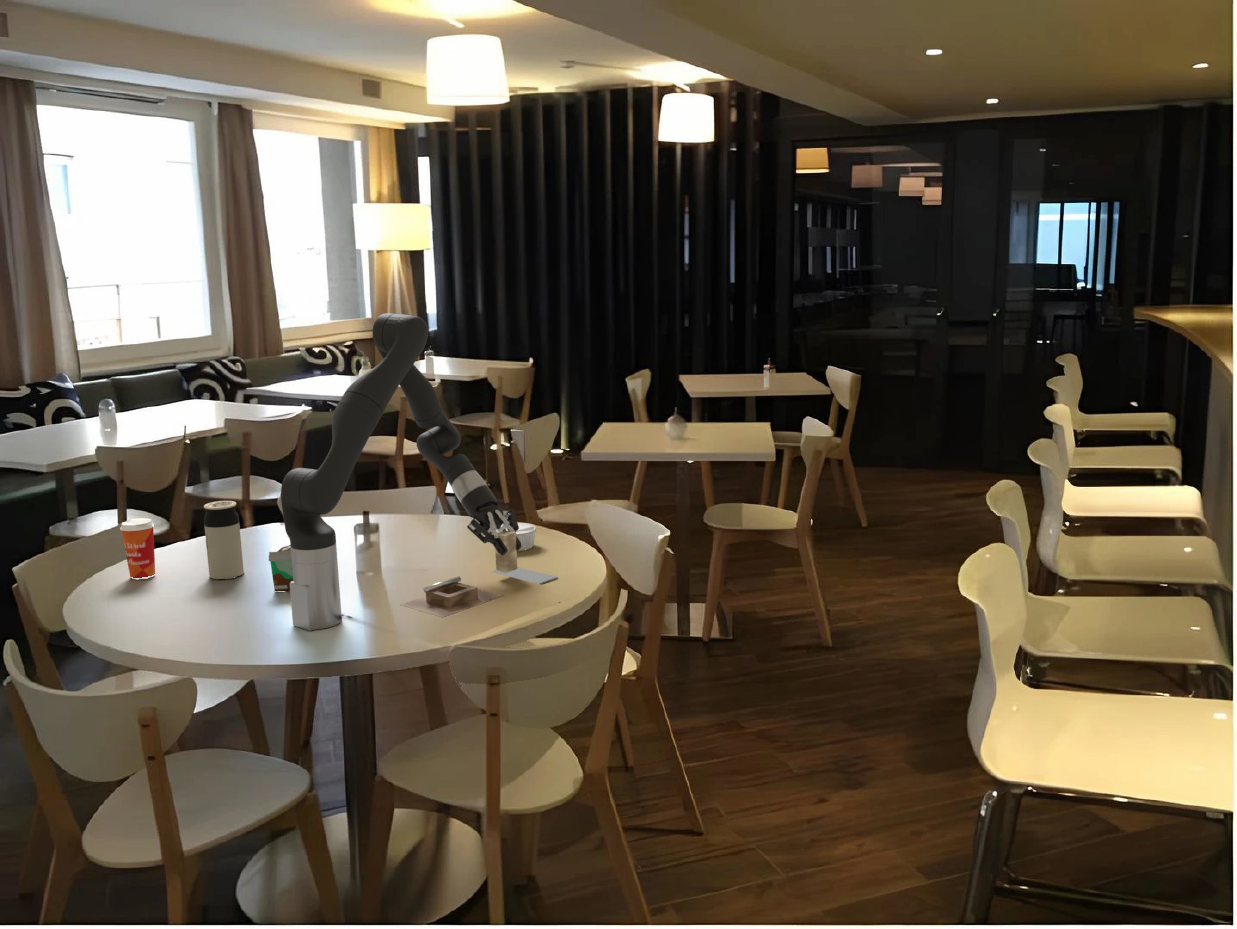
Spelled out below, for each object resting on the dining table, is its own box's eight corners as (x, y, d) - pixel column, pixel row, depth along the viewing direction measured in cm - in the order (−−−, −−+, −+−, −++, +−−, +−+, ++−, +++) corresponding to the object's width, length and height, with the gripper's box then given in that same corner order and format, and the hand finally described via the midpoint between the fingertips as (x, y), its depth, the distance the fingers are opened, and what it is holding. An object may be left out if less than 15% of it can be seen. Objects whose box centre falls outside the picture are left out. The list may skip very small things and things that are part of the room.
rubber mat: (503, 597, 242) (503, 596, 242) (455, 585, 253) (455, 583, 252) (557, 578, 256) (557, 576, 256) (510, 567, 266) (510, 565, 266)
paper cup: (118, 580, 262) (112, 524, 259) (141, 571, 269) (135, 517, 266) (145, 582, 259) (139, 526, 257) (167, 573, 267) (161, 518, 264)
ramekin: (527, 554, 277) (526, 534, 276) (487, 551, 281) (486, 532, 280) (543, 543, 288) (542, 524, 287) (504, 540, 291) (503, 521, 290)
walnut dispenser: (442, 621, 228) (441, 600, 227) (400, 609, 236) (398, 588, 235) (503, 599, 241) (502, 579, 240) (461, 588, 250) (460, 569, 249)
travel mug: (248, 570, 268) (242, 500, 264) (236, 580, 260) (229, 507, 256) (217, 570, 268) (210, 500, 264) (204, 580, 260) (197, 508, 257)
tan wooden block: (505, 573, 251) (503, 536, 250) (496, 571, 253) (494, 534, 251) (517, 569, 254) (515, 532, 253) (508, 566, 256) (506, 530, 254)
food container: (295, 595, 247) (292, 553, 245) (271, 594, 249) (267, 552, 247) (320, 579, 259) (317, 539, 257) (297, 578, 260) (294, 538, 258)
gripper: (458, 490, 249) (497, 549, 244) (502, 479, 260) (540, 535, 255) (444, 509, 254) (482, 567, 248) (488, 497, 264) (525, 553, 259)
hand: (511, 550), depth 252 cm, fingers closed on tan wooden block, 4 cm apart
